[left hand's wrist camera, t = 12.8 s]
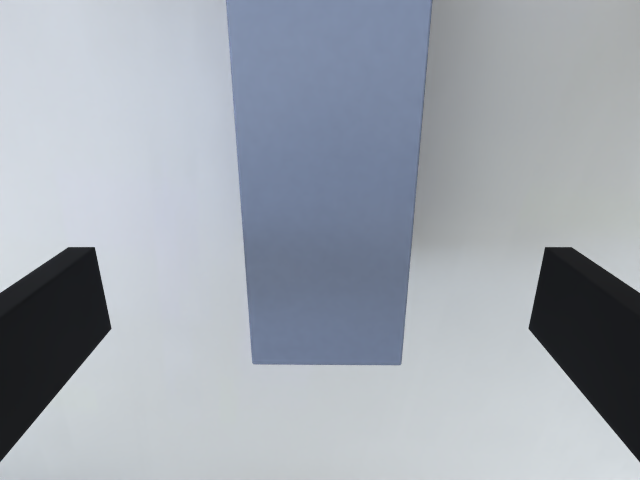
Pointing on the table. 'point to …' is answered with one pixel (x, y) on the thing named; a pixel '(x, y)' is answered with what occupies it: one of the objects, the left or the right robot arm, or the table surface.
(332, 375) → the table surface
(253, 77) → the blue-grey rectangular block
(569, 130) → the table surface
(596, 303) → the left robot arm
